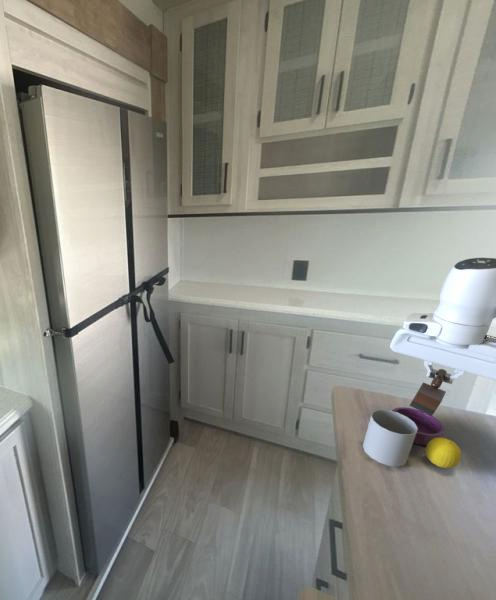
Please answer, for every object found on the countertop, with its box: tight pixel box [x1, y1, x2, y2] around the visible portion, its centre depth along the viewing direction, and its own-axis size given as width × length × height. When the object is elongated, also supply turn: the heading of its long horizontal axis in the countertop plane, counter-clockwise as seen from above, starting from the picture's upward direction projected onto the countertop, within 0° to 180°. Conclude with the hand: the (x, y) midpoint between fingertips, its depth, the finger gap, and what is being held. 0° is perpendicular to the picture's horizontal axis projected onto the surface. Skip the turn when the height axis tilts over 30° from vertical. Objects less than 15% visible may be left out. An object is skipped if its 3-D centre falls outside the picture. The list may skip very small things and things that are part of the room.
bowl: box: [391, 406, 446, 447], centre depth 86 cm, size 10×10×4 cm
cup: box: [362, 409, 418, 468], centre depth 80 cm, size 8×8×10 cm
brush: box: [409, 368, 448, 416], centre depth 78 cm, size 14×4×6 cm, turn 128°
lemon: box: [425, 437, 462, 469], centre depth 76 cm, size 6×6×8 cm
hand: (438, 379), depth 80 cm, fingers closed on brush
